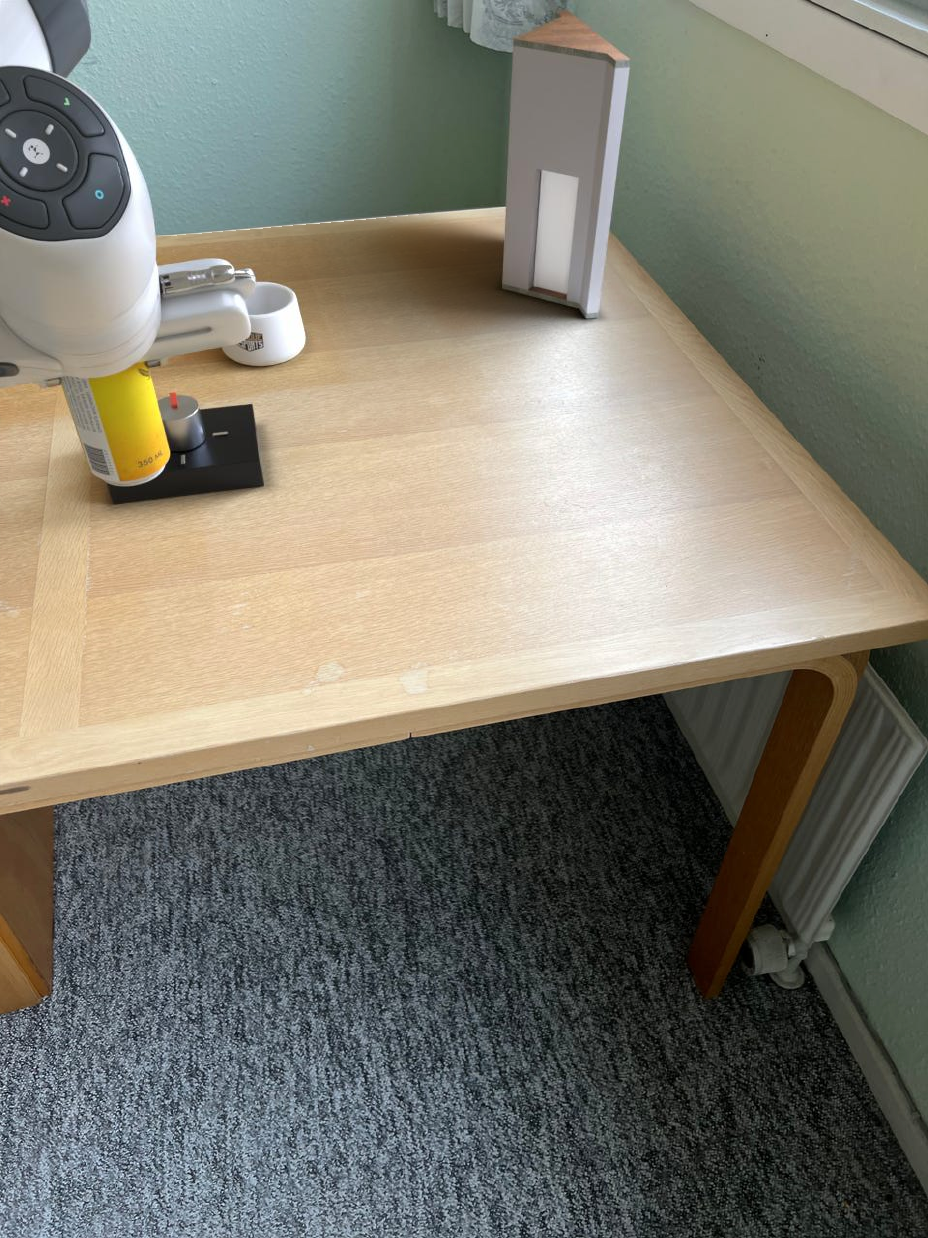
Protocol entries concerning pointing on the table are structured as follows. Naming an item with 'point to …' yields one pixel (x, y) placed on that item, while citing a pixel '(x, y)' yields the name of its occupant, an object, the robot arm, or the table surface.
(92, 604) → the table surface
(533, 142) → the cabinet
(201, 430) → the knob
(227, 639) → the table surface
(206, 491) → the panel
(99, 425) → the beer can
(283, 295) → the mug
